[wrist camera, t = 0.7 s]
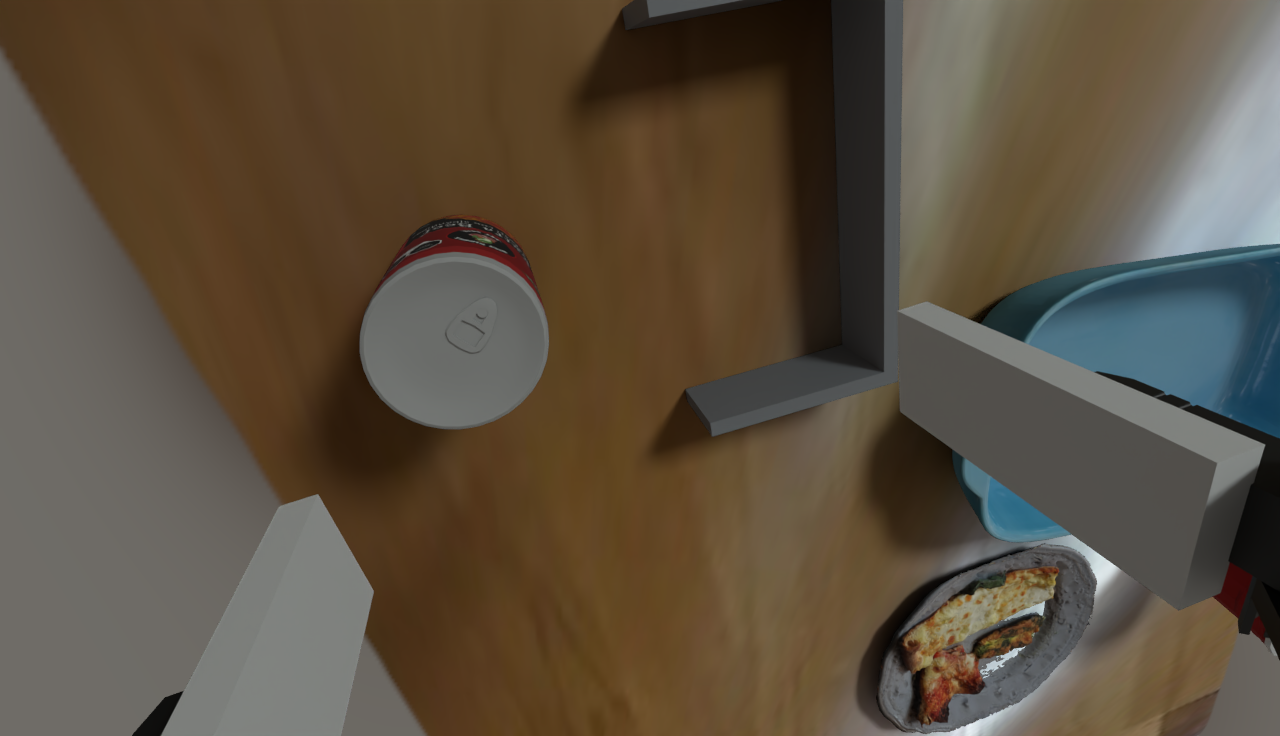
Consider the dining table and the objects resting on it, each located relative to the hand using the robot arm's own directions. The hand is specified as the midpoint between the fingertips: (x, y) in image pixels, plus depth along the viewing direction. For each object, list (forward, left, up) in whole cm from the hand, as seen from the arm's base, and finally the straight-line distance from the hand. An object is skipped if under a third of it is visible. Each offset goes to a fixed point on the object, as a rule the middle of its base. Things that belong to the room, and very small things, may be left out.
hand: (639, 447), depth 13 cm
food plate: (+49, +33, -25) cm, 64 cm away
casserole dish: (+21, +43, -25) cm, 54 cm away
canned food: (+1, -5, -24) cm, 25 cm away
